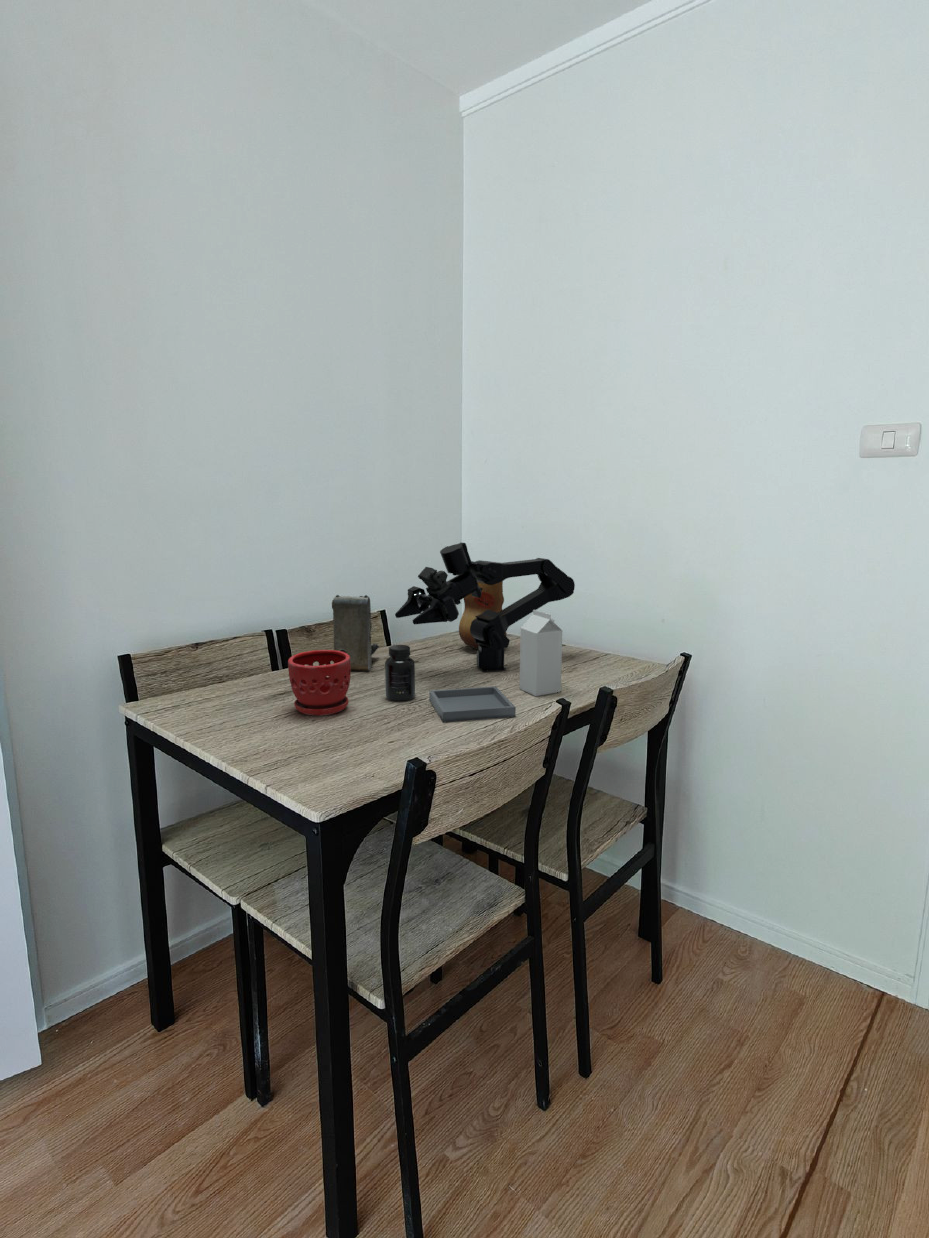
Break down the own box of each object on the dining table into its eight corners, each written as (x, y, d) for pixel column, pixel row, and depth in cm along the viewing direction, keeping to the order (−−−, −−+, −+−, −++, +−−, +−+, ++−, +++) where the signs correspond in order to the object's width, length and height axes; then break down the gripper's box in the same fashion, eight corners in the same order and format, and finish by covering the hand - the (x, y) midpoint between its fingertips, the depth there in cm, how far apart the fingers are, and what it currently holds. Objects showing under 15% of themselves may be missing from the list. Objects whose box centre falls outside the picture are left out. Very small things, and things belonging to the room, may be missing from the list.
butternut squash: (458, 655, 204) (458, 567, 199) (458, 644, 217) (458, 562, 212) (507, 655, 204) (508, 567, 199) (504, 644, 217) (505, 562, 213)
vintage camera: (382, 659, 201) (380, 588, 198) (370, 672, 186) (367, 595, 183) (348, 659, 202) (345, 589, 199) (333, 671, 187) (330, 595, 184)
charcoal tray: (495, 695, 167) (495, 686, 166) (515, 716, 152) (515, 706, 151) (429, 699, 163) (429, 690, 163) (442, 722, 148) (442, 712, 148)
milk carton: (535, 697, 166) (537, 616, 162) (519, 689, 172) (520, 611, 168) (560, 692, 169) (563, 613, 165) (544, 685, 175) (545, 608, 171)
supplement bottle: (385, 693, 168) (384, 643, 166) (415, 692, 169) (414, 643, 166) (385, 702, 161) (384, 650, 159) (415, 701, 162) (414, 650, 160)
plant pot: (286, 704, 160) (283, 652, 157) (344, 698, 165) (343, 647, 162) (295, 723, 148) (292, 666, 146) (358, 715, 153) (356, 660, 150)
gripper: (426, 557, 185) (375, 585, 178) (464, 565, 169) (410, 595, 163) (440, 595, 189) (391, 623, 183) (479, 606, 173) (427, 637, 167)
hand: (404, 619), depth 174 cm, fingers open, 9 cm apart
